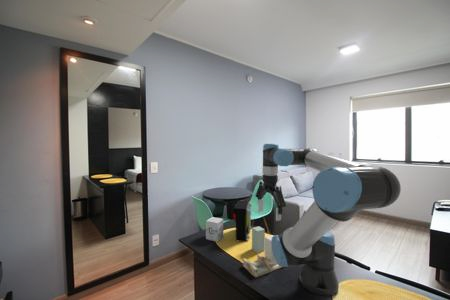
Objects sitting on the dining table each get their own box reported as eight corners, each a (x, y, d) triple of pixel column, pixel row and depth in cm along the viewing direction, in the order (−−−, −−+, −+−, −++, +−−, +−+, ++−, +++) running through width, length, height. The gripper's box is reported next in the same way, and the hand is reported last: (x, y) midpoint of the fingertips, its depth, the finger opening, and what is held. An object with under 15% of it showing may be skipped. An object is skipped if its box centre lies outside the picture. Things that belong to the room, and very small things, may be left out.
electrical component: (249, 241, 126) (249, 209, 126) (232, 240, 128) (233, 208, 128) (251, 229, 144) (251, 201, 143) (236, 228, 146) (237, 200, 145)
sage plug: (264, 250, 116) (264, 229, 116) (257, 252, 114) (257, 231, 113) (258, 246, 120) (259, 226, 120) (251, 248, 118) (252, 227, 118)
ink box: (212, 233, 137) (212, 216, 137) (223, 236, 134) (223, 218, 133) (205, 239, 130) (205, 220, 129) (217, 242, 126) (217, 223, 125)
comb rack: (286, 265, 102) (286, 258, 101) (255, 277, 92) (255, 269, 92) (272, 256, 110) (272, 249, 110) (243, 266, 101) (243, 258, 101)
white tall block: (279, 262, 103) (279, 238, 102) (271, 265, 100) (271, 241, 100) (272, 257, 107) (272, 235, 106) (264, 260, 104) (264, 237, 104)
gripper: (294, 177, 95) (293, 223, 97) (260, 170, 117) (259, 207, 118) (282, 179, 92) (281, 226, 93) (249, 171, 113) (248, 209, 115)
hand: (269, 215), depth 106 cm, fingers open, 13 cm apart
